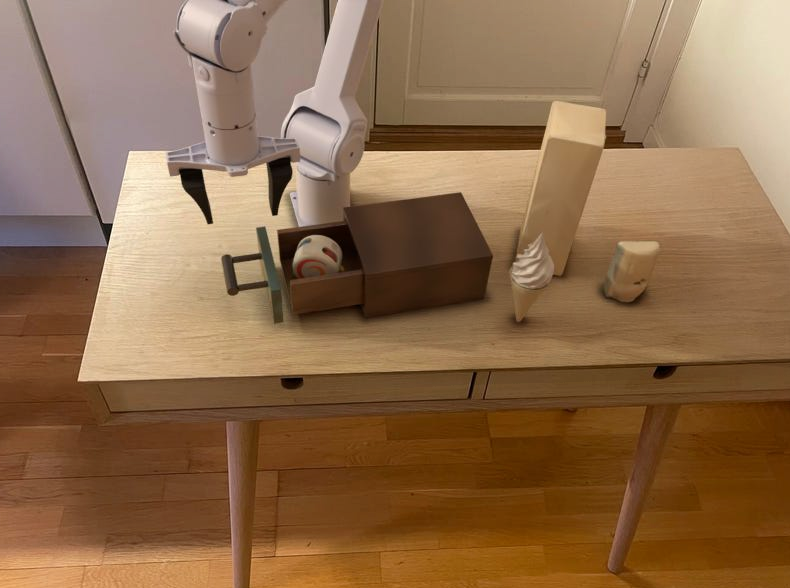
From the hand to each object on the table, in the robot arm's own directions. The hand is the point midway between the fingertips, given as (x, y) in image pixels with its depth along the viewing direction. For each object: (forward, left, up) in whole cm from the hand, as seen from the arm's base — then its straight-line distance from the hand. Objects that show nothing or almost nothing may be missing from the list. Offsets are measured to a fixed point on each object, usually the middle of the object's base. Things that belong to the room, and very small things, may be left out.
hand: (241, 214), depth 91 cm
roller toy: (+4, +8, -9) cm, 13 cm away
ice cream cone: (+15, +32, -11) cm, 37 cm away
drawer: (+4, +7, -10) cm, 12 cm away
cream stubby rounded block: (+13, +48, -11) cm, 51 cm away
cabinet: (+4, +21, -10) cm, 24 cm away
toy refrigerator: (+4, +40, -11) cm, 42 cm away
